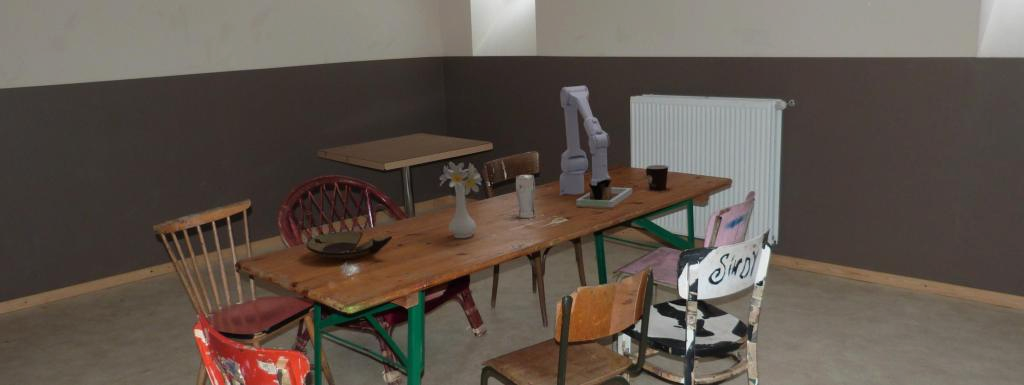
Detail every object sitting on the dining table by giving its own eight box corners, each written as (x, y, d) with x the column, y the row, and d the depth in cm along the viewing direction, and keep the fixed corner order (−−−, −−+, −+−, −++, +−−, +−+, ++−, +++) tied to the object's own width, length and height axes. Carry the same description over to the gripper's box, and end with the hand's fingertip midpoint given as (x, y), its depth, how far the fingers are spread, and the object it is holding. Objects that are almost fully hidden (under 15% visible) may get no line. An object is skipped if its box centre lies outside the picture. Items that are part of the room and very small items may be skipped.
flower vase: (466, 244, 276) (461, 169, 271) (433, 235, 290) (428, 163, 285) (497, 236, 285) (493, 163, 279) (464, 228, 299) (459, 158, 293)
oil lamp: (351, 242, 288) (349, 220, 287) (405, 256, 267) (403, 233, 265) (293, 257, 273) (290, 234, 272) (345, 274, 252) (342, 249, 250)
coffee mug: (670, 193, 337) (669, 168, 335) (648, 194, 337) (648, 169, 335) (665, 187, 349) (665, 163, 347) (644, 188, 349) (644, 164, 347)
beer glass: (514, 218, 310) (512, 177, 306) (522, 213, 316) (520, 174, 312) (531, 219, 306) (529, 178, 303) (539, 214, 312) (537, 174, 309)
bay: (576, 207, 321) (576, 199, 320) (598, 194, 342) (598, 186, 342) (612, 209, 314) (612, 201, 314) (632, 195, 336) (632, 188, 335)
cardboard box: (589, 203, 323) (589, 188, 322) (594, 200, 328) (593, 186, 326) (607, 203, 320) (607, 189, 319) (611, 201, 324) (611, 187, 323)
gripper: (603, 169, 313) (604, 204, 315) (615, 162, 325) (616, 196, 328) (585, 168, 316) (586, 203, 319) (598, 161, 328) (599, 195, 331)
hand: (600, 200), depth 324 cm, fingers closed on cardboard box, 5 cm apart
